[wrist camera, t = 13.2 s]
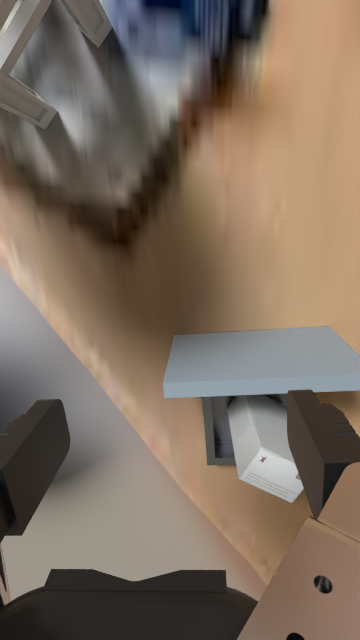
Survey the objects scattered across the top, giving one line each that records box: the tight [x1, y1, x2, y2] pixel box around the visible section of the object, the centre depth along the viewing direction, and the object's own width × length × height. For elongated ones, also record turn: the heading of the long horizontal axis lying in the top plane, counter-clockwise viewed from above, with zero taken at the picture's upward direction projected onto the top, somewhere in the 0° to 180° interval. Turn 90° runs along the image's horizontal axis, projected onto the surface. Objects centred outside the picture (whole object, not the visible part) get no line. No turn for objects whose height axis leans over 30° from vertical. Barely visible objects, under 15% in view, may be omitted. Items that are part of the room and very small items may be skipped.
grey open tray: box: [202, 393, 288, 465], centre depth 41 cm, size 12×14×4 cm
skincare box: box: [227, 394, 304, 503], centre depth 37 cm, size 6×4×12 cm
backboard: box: [163, 326, 360, 398], centre depth 35 cm, size 18×2×12 cm, turn 95°
